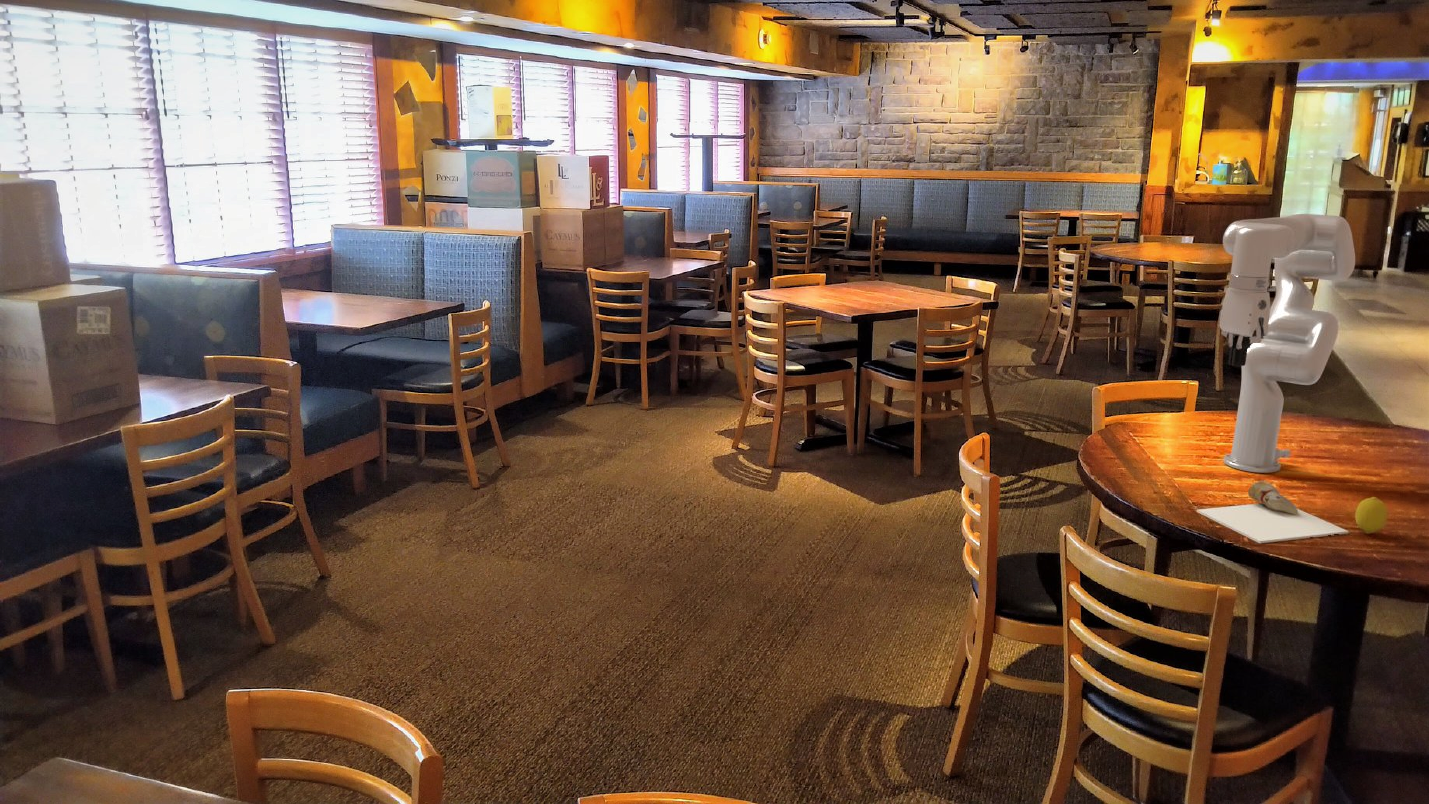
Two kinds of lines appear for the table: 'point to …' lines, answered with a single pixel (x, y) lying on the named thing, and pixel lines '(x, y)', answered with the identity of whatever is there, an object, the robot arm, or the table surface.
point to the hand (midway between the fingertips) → (1236, 365)
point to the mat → (1270, 523)
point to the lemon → (1371, 515)
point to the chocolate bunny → (1271, 497)
